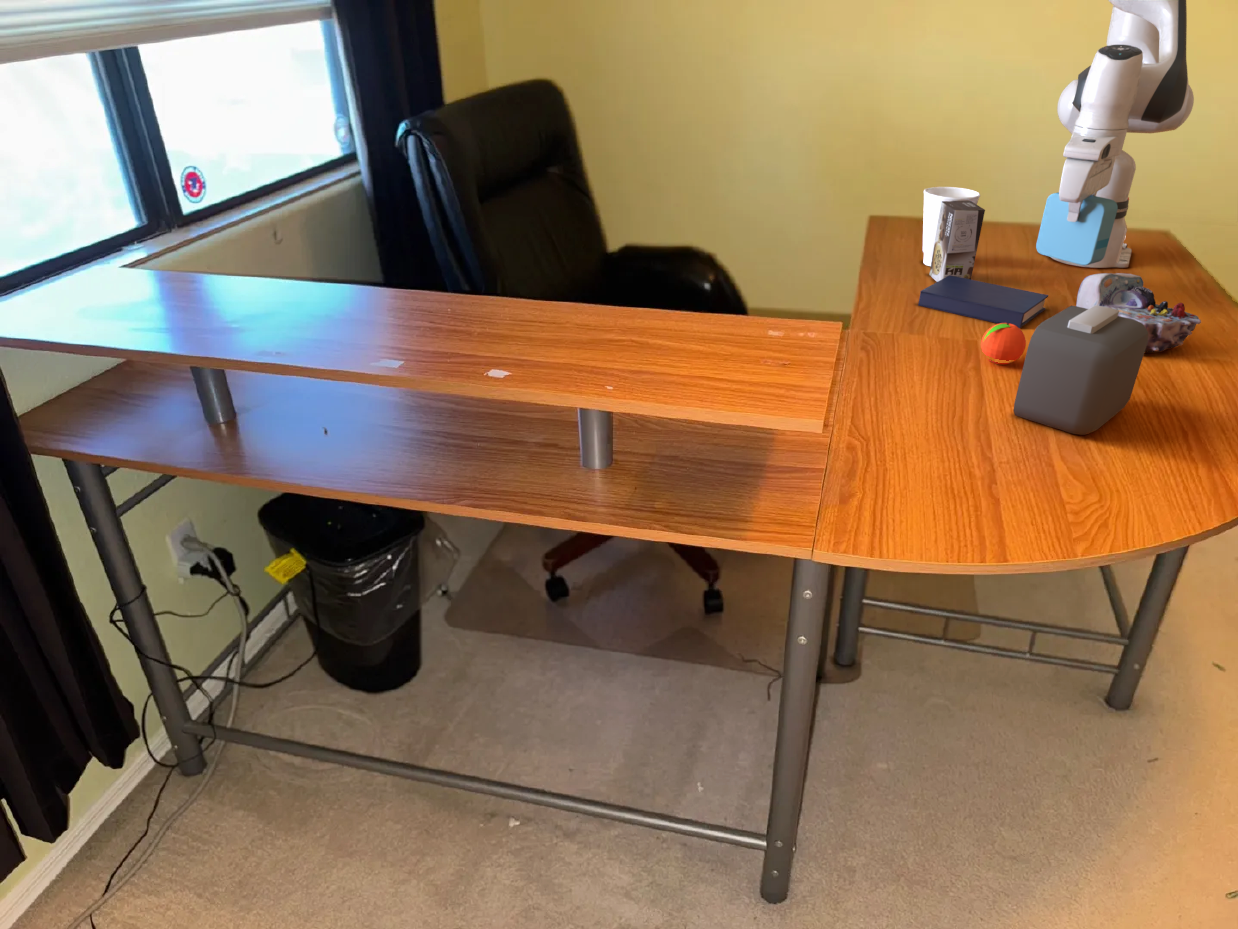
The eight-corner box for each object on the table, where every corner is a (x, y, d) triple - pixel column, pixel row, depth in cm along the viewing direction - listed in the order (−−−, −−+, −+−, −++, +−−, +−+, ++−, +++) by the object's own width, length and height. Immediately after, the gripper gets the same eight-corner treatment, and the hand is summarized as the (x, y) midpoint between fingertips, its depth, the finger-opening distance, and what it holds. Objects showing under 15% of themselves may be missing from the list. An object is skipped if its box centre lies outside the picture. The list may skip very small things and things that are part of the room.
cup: (908, 255, 207) (919, 185, 199) (960, 257, 206) (974, 187, 198) (916, 269, 197) (928, 196, 189) (971, 272, 195) (986, 198, 188)
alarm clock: (1055, 389, 140) (1080, 294, 132) (1131, 411, 133) (1162, 312, 125) (1010, 420, 130) (1034, 319, 122) (1089, 446, 123) (1120, 340, 115)
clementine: (992, 374, 145) (1001, 333, 142) (963, 359, 151) (971, 319, 147) (1030, 367, 148) (1039, 327, 144) (1000, 353, 153) (1008, 314, 150)
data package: (1103, 263, 171) (1120, 200, 165) (1089, 267, 169) (1106, 204, 163) (1047, 249, 180) (1061, 188, 174) (1033, 252, 177) (1048, 191, 171)
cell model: (1121, 261, 164) (1221, 294, 148) (1104, 316, 170) (1199, 354, 154) (1069, 268, 160) (1168, 304, 144) (1054, 325, 165) (1147, 365, 149)
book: (946, 289, 185) (949, 275, 183) (1045, 309, 173) (1048, 295, 172) (918, 305, 176) (920, 290, 174) (1019, 328, 164) (1023, 313, 163)
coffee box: (971, 287, 186) (986, 209, 178) (940, 287, 186) (954, 209, 178) (957, 274, 194) (971, 199, 186) (928, 274, 194) (941, 199, 186)
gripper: (1095, 133, 172) (1077, 204, 179) (1061, 148, 158) (1043, 225, 165) (1130, 136, 168) (1110, 209, 175) (1098, 152, 155) (1078, 231, 162)
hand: (1077, 217), depth 170 cm, fingers closed on data package, 5 cm apart
